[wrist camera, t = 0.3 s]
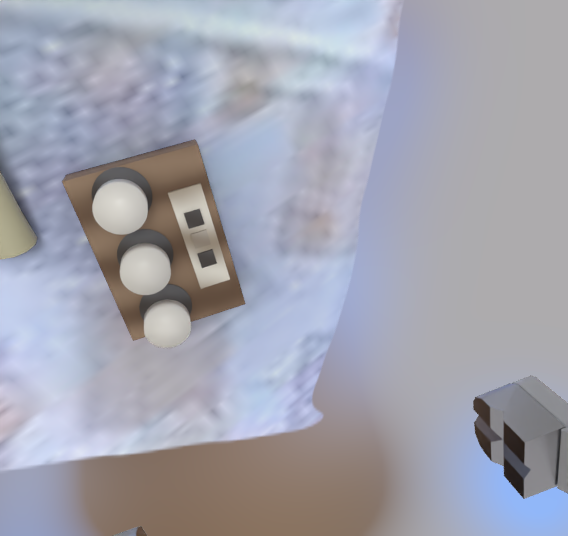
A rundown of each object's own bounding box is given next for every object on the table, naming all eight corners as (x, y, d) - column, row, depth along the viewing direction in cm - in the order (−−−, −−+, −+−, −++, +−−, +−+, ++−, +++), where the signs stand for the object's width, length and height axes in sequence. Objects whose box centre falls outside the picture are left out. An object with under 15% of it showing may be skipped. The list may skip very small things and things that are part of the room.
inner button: (85, 187, 46) (83, 192, 44) (137, 172, 46) (137, 177, 45) (105, 233, 48) (104, 241, 46) (154, 219, 49) (154, 226, 47)
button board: (66, 174, 50) (61, 183, 47) (194, 139, 52) (198, 145, 49) (133, 327, 60) (133, 343, 57) (240, 292, 62) (246, 305, 58)
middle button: (113, 251, 49) (112, 258, 47) (161, 237, 50) (161, 244, 48) (130, 292, 51) (130, 301, 50) (176, 278, 52) (177, 286, 50)
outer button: (137, 307, 52) (136, 316, 50) (181, 293, 53) (183, 302, 51) (152, 344, 54) (152, 354, 53) (195, 330, 55) (196, 339, 53)
